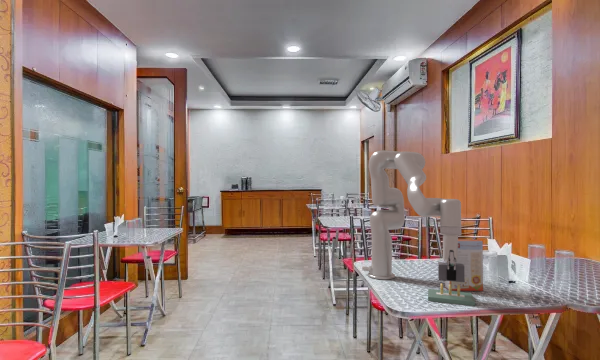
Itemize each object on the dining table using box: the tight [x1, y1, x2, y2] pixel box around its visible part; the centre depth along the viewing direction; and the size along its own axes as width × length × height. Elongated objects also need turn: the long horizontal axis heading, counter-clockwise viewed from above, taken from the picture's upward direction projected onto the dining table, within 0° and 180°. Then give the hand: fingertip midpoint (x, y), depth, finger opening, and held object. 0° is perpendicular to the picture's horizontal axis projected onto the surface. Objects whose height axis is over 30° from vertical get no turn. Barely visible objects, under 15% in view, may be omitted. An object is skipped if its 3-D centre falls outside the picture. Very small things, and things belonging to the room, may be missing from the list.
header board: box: [427, 283, 476, 307], centre depth 140 cm, size 16×12×6 cm
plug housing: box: [437, 261, 465, 282], centre depth 140 cm, size 9×5×6 cm, turn 71°
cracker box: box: [444, 238, 484, 292], centre depth 154 cm, size 14×6×21 cm, turn 89°
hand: (451, 278), depth 140 cm, fingers closed on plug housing, 5 cm apart
